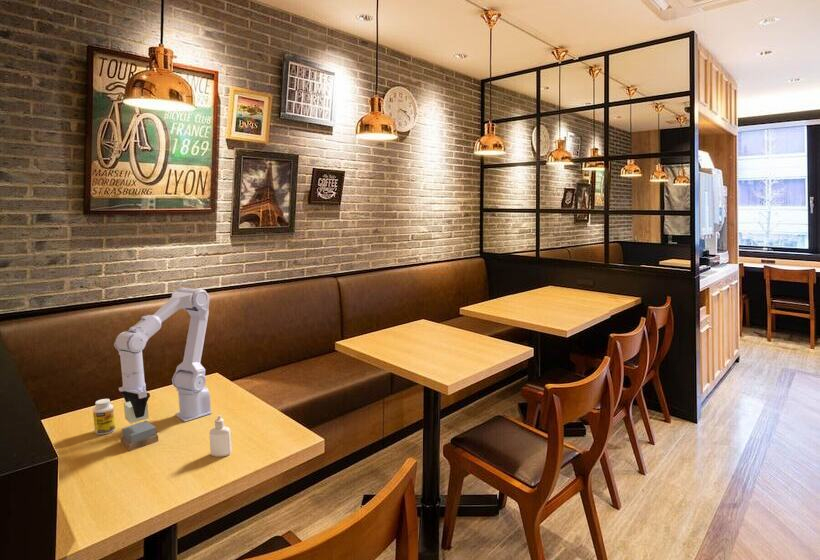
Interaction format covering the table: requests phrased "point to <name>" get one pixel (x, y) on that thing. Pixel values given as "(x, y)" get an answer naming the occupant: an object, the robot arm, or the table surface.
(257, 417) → the table surface
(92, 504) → the table surface
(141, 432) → the slate gray middle block
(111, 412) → the supplement bottle
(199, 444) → the table surface
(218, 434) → the eye dropper bottle
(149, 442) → the walnut base slab
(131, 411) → the sage cube
